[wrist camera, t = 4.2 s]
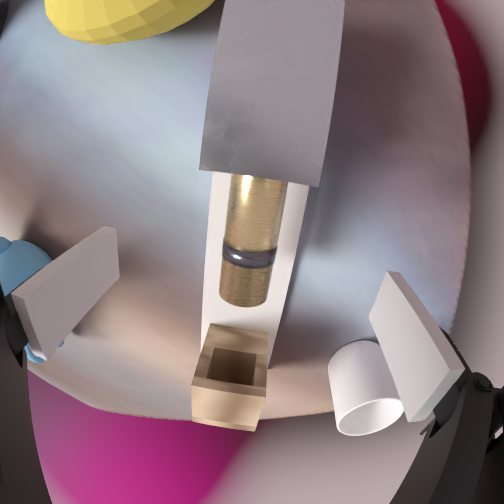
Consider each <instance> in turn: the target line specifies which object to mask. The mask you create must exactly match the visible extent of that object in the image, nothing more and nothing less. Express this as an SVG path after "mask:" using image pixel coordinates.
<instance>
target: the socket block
mask: <svg viewBox="0 0 504 504" xmlns="http://www.w3.org/2000/svg"><path fill="white" fill-rule="evenodd" d="M267 357H268V332H261V331H254V330H247V329H241V328H234V327H228V326H222V325H217V324H211V323H210V325H209V328H208V331H207V335H206V338H205V341H204V344H203V348H202V351H201V354H200V357H199V361H198V364H197V367H196V371H195V374H194V377H193V381H192V384H191V398H192V421H194V422H198V423H203V424H209V425H214V426H220V427H226V428H232V429H239V430H247V431H255V429H256V426H257V422H258V420H259V417H260V413H261V410H262V407H263V404H264V401H265V398H266V380H267Z"/></svg>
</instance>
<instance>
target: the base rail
mask: <svg viewBox="0 0 504 504" xmlns="http://www.w3.org/2000/svg"><path fill="white" fill-rule="evenodd" d="M230 181H231V173H223V172H214V171H213V179H212V188H211V198H210V209H209V220H208V232H207V244H206V258H205V272H204V289H203V307H202V330H201V351H202V348H203V344H204V341H205V338H206V335H207V331H208V328H209V325H210V323H211V324H217V325H222V326H228V327H234V328H241V329H247V330H254V331H261V332H268V357H267V369H268V365H269V361H270V358H271V354H272V350H273V346H274V342H275V339H276V335H277V331H278V327H279V323H280V319H281V315H282V311H283V307H284V302H285V298H286V294H287V290H288V285H289V281H290V277H291V272H292V268H293V264H294V259H295V255H296V250H297V245H298V241H299V236H300V231H301V226H302V221H303V217H304V212H305V207H306V202H307V196H308V191H309V186H307V185H302V184H296V183H291V182H288V188H287V194H286V199H285V205H284V211H283V216H282V222H281V227H280V233H279V238H278V244H277V245H278V247H277V253H276V258H275V262H274V265H273V270H272V275H271V280H270V286H269V291H268V296H267V300H266V301H265V302H264V303H263V304H261V305H259V306H256V307H249V308H246V307H238V306H234V305H231V304H229V303H227V302H226V301H224V300H223V299H222V298H221V297H220V295H219V283H220V273H221V262H222V246H223V238H224V233H225V224H226V215H227V206H228V198H229V189H230Z"/></svg>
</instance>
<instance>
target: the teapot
mask: <svg viewBox="0 0 504 504" xmlns="http://www.w3.org/2000/svg"><path fill="white" fill-rule="evenodd" d="M52 261H53V260H52V259H51V257H50V256H49V255H48V254H47V253H46V252H45V251H43V250H42V249H41V248H39V247H38V246H36V245H34V244H32V243H30V242H27V241H24V240H15V241H12V242H10V241H9V240H7V239H6V238H3V237H0V282H1V286H2V289H3V292H4V296H6V295H7V294H9V293H10V292H11V291H12V290H13V289H15V288H16V287H17V286H18V285H20V284H21V283H22V282H23V281H26V279H27V278H29V277H30V276H32V274H34V273H35V272H36V271H38V270H39V269H41V268H43V267H45V266H46V265H48V264H49V263H51V262H52ZM63 344H64V340H63V342H62V343H61V344H60V345H59V347H61V346H62V345H63ZM29 345H30V344H29V343H28V344H27V345H26V346H25V347H24V348H25V350H26V353H27V358H28V359H29V360H31V361H33V362H35V363H42V362H44V361H45V360H44V359H42V358H40V357H39V356H38V357H35V356H34V355H33V354H32V352H31V350H30V348H29Z"/></svg>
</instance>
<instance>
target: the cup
mask: <svg viewBox="0 0 504 504" xmlns="http://www.w3.org/2000/svg"><path fill="white" fill-rule="evenodd" d="M328 373H329V380H330V386H331V392H332V398H333V404H334V411H335V417H336V424H337V429H338V430H339V431H340V432H341V433H343V434H346V435H352V436H353V435H354V436H357V435H365V434H370V433H373V432H376V431H379V430H381V429H383V428H385V427H387V426H389V425H391V424H392V423H393V422H394V421H396V420H397V419H398V418H399V417H400V416H401V414H402V413H403V411H404V408H403V405H402V402H401V399H400V397H399V394H398V391H397V388H396V385H395V383H394V380H393V377H392V374H391V372H390V369H389V367H388V364H387V361H386V359H385V356H384V354H383V351H382V349H381V346H380V345H378V344H377V343H375V342H372V341H366V340H363V341H356V342H352V343H349V344H347V345H345V346H343V347H342V348H340V349H339V350H338V351H337V352H336V353H335V354H334V355H333V356H332V358H331V360H330V362H329V365H328Z"/></svg>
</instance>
